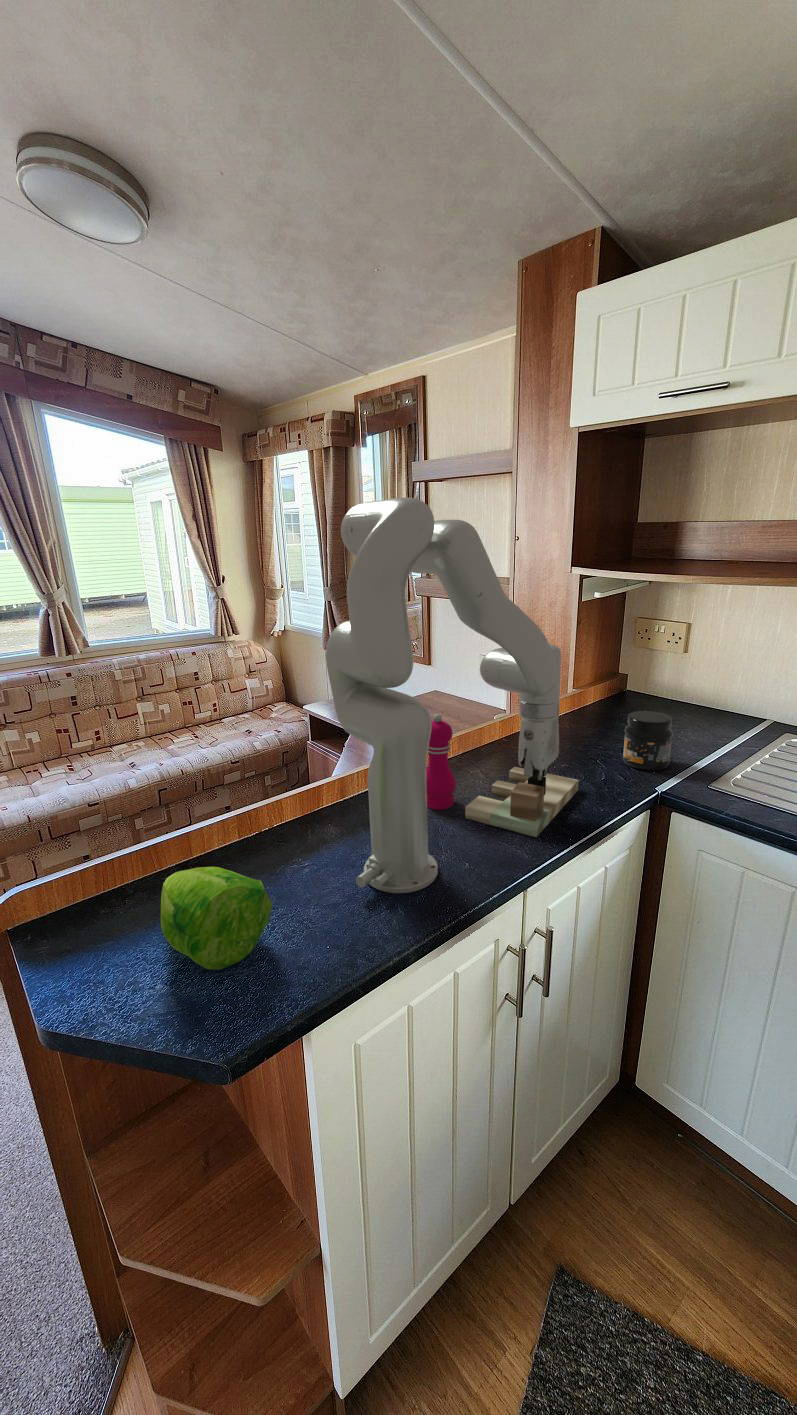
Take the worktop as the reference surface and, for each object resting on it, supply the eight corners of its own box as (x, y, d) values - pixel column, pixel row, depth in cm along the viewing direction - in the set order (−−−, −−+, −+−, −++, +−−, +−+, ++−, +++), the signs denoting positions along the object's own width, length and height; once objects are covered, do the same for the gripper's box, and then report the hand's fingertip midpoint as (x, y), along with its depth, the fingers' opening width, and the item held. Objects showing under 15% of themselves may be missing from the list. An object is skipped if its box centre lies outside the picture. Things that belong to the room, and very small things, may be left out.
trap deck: (536, 837, 107) (536, 825, 106) (465, 818, 115) (465, 806, 114) (577, 790, 126) (578, 779, 125) (514, 776, 134) (514, 766, 133)
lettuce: (219, 893, 93) (209, 828, 90) (293, 949, 80) (285, 875, 76) (133, 936, 84) (119, 865, 80) (201, 1008, 70) (187, 926, 67)
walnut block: (535, 821, 108) (536, 796, 106) (510, 815, 110) (510, 791, 109) (543, 810, 112) (544, 786, 110) (518, 805, 114) (519, 782, 113)
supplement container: (613, 759, 142) (616, 713, 139) (649, 753, 145) (653, 708, 141) (641, 774, 132) (645, 725, 129) (679, 768, 135) (684, 720, 132)
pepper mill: (454, 812, 118) (453, 720, 112) (419, 810, 119) (417, 719, 114) (457, 796, 125) (457, 709, 119) (424, 795, 126) (422, 708, 120)
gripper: (542, 722, 102) (539, 814, 107) (571, 701, 114) (567, 785, 119) (504, 716, 106) (503, 805, 112) (535, 696, 118) (533, 778, 123)
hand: (536, 794), depth 115 cm, fingers closed
